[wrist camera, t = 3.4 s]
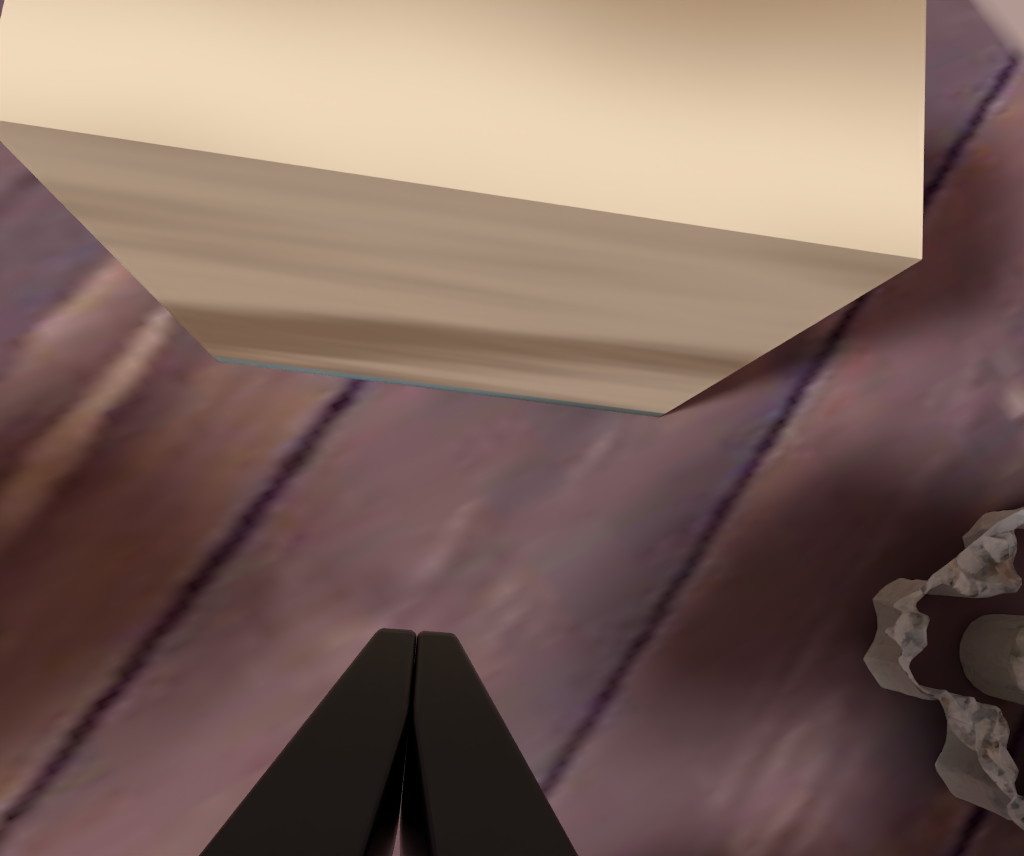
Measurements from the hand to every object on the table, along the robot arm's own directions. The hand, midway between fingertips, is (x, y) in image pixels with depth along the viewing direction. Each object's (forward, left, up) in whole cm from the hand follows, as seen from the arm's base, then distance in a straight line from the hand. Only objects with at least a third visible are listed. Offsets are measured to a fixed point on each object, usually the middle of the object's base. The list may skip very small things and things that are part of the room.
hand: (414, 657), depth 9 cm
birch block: (+7, -4, -12) cm, 15 cm away
